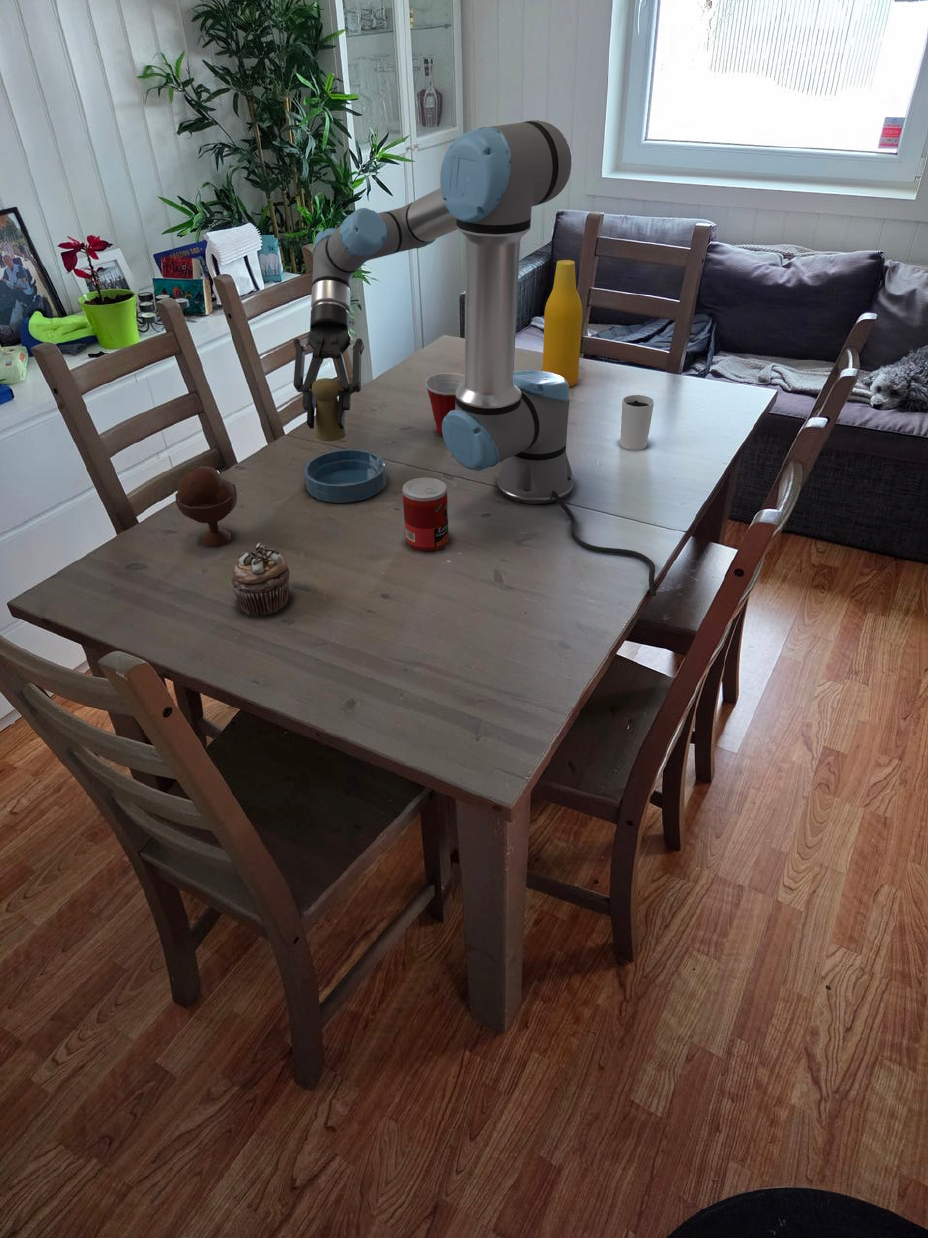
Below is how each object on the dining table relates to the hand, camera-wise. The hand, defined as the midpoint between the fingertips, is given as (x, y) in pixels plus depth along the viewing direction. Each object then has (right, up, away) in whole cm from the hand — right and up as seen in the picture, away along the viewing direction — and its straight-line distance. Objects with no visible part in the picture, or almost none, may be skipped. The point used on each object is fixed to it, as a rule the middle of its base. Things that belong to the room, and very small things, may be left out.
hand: (325, 425), depth 159 cm
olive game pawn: (0, -1, +5) cm, 5 cm away
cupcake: (-7, -34, -20) cm, 40 cm away
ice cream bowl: (-20, -22, -3) cm, 30 cm away
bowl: (+2, -9, +13) cm, 16 cm away
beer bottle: (+51, +24, +55) cm, 79 cm away
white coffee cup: (+64, +1, +25) cm, 68 cm away
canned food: (+20, -23, -5) cm, 30 cm away
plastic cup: (+23, +6, +32) cm, 40 cm away
